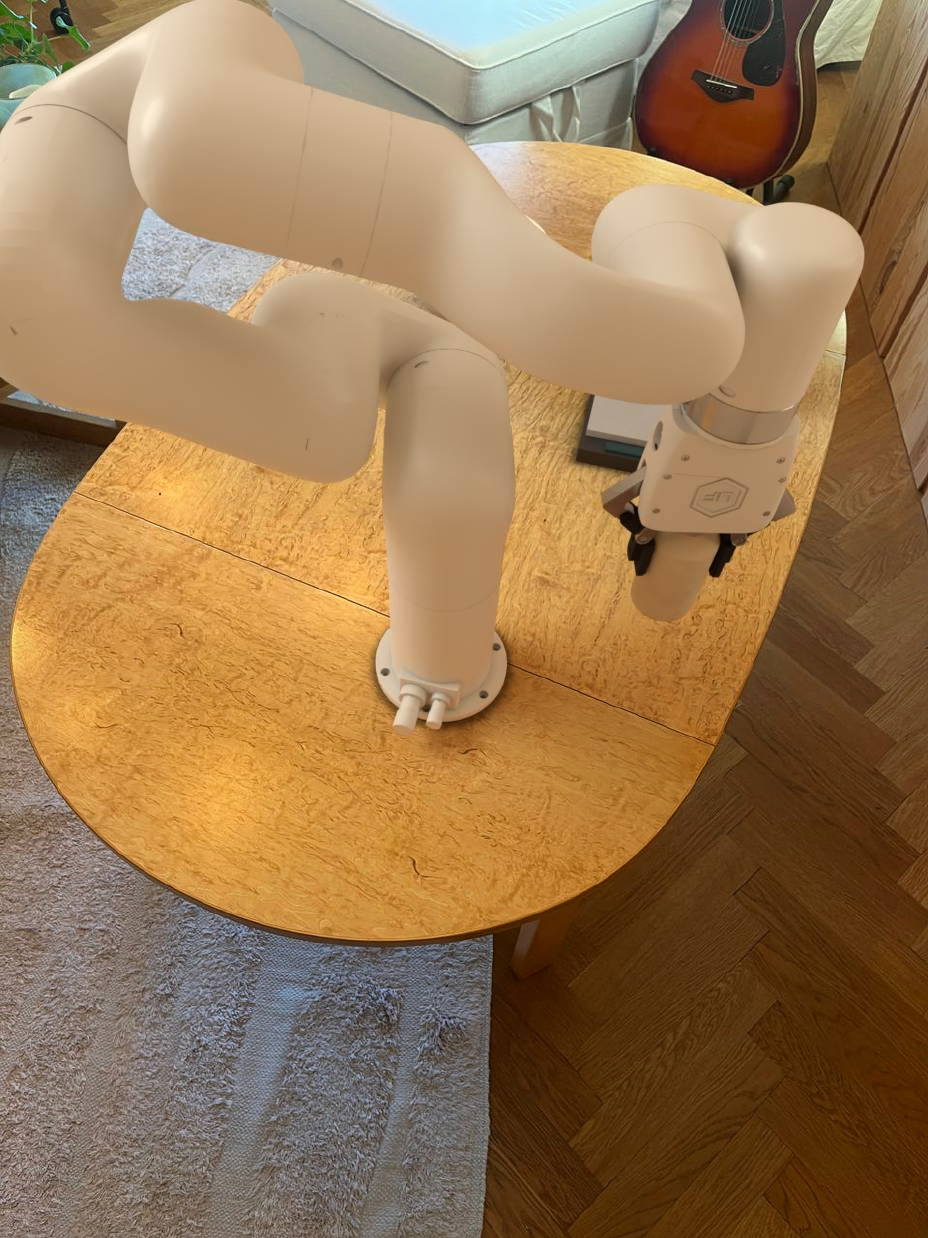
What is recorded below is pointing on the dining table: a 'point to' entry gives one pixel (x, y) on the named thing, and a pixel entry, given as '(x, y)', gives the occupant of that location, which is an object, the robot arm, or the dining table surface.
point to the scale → (616, 432)
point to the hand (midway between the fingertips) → (675, 562)
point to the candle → (674, 574)
